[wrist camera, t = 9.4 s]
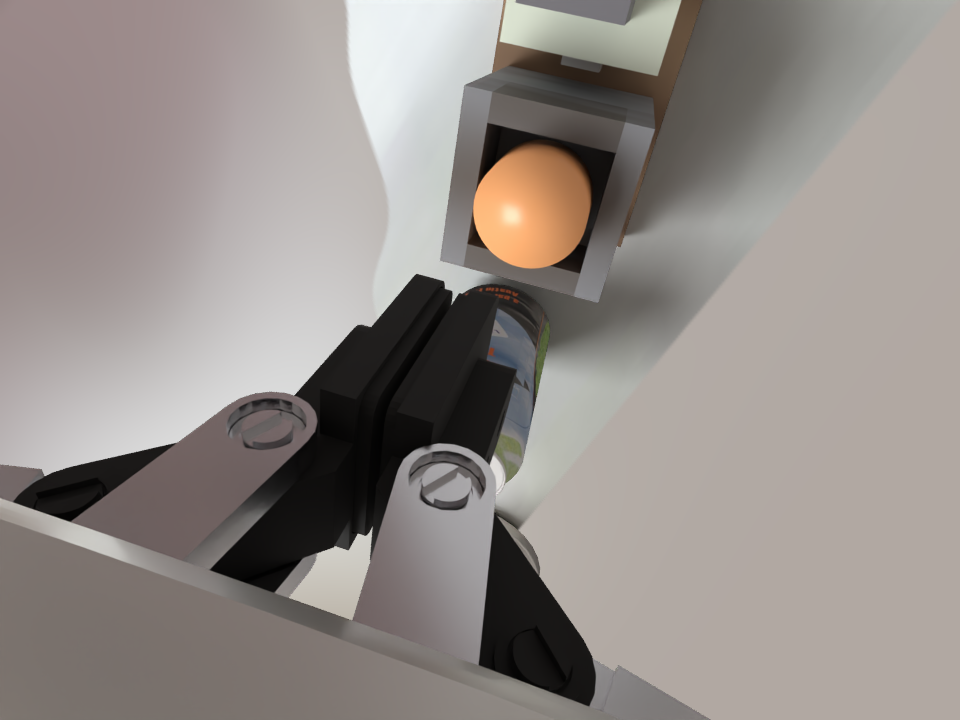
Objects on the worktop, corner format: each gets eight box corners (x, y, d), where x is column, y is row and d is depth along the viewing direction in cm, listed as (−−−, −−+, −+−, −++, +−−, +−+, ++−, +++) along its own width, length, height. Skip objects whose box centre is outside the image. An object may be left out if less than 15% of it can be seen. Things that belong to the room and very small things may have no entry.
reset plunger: (577, 255, 22) (570, 280, 20) (481, 230, 23) (465, 253, 21) (606, 153, 20) (601, 170, 18) (499, 128, 21) (483, 142, 19)
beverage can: (538, 264, 32) (490, 381, 22) (567, 373, 35) (536, 517, 25) (438, 283, 34) (353, 398, 24) (474, 384, 37) (412, 521, 27)
